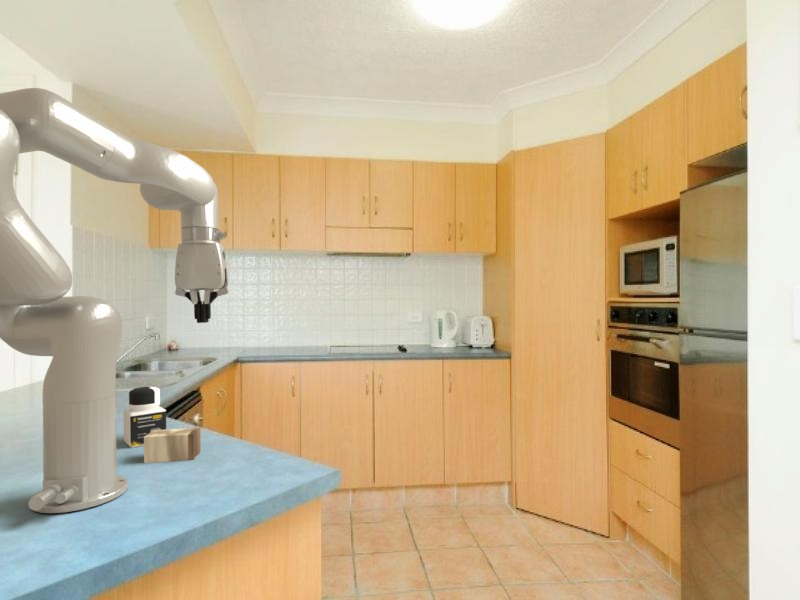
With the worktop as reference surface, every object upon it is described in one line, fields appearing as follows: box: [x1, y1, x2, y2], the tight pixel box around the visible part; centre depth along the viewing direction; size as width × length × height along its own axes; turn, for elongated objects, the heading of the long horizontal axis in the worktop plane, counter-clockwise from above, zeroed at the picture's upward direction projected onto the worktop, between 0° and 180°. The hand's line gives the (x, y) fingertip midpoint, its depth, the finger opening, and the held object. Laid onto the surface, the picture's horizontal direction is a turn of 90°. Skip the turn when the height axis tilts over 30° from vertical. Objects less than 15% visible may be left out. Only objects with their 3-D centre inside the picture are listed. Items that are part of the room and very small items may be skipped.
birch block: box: [143, 427, 202, 464], centre depth 92 cm, size 5×5×9 cm
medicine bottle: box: [123, 386, 167, 449], centre depth 104 cm, size 7×7×12 cm
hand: (202, 322), depth 101 cm, fingers closed
